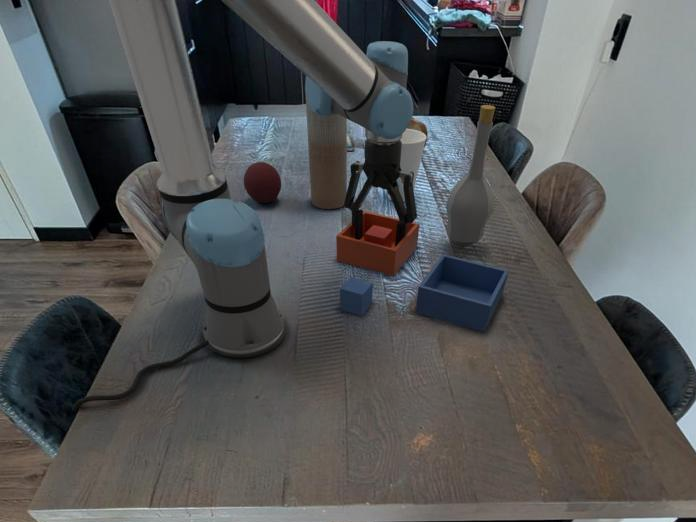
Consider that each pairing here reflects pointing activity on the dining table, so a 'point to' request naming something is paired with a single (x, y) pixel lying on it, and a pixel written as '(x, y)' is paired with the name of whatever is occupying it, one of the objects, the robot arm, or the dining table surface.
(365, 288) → the blue block
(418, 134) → the cup
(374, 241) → the red block
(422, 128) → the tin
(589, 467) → the dining table surface
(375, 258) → the red bin
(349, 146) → the smartphone
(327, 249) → the dining table surface
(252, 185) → the decorative ball
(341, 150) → the vase
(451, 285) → the blue bin
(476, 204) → the bottle
